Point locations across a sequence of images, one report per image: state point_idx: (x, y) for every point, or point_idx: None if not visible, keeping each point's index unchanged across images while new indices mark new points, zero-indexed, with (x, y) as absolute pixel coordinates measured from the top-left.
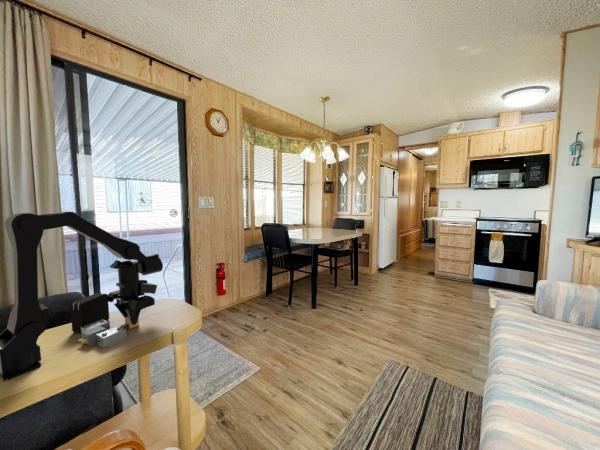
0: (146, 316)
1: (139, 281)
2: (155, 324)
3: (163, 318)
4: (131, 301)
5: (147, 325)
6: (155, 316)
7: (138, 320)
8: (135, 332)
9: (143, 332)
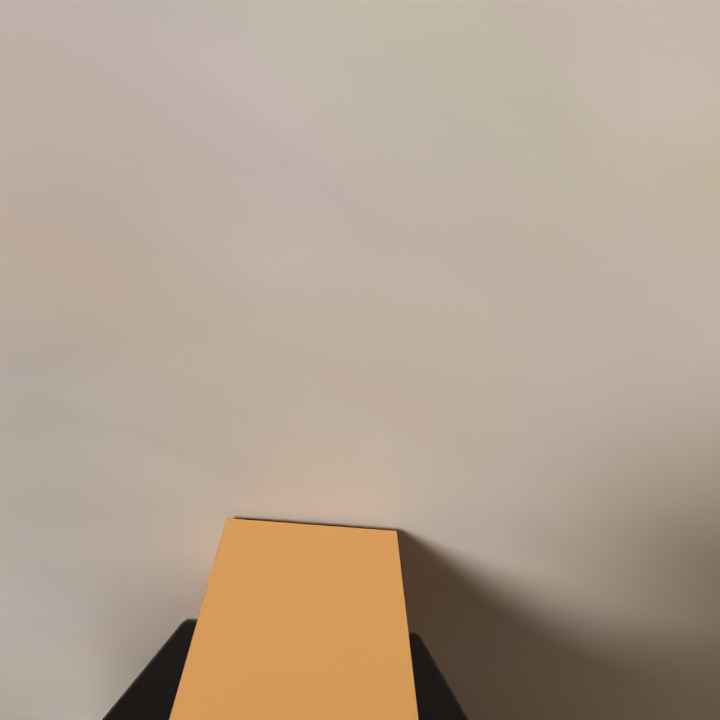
0: (48, 152)
1: None
2: (706, 382)
3: (672, 50)
4: None
5: (562, 469)
6: (304, 38)
7: (404, 623)
8: (570, 672)
9: (707, 635)
